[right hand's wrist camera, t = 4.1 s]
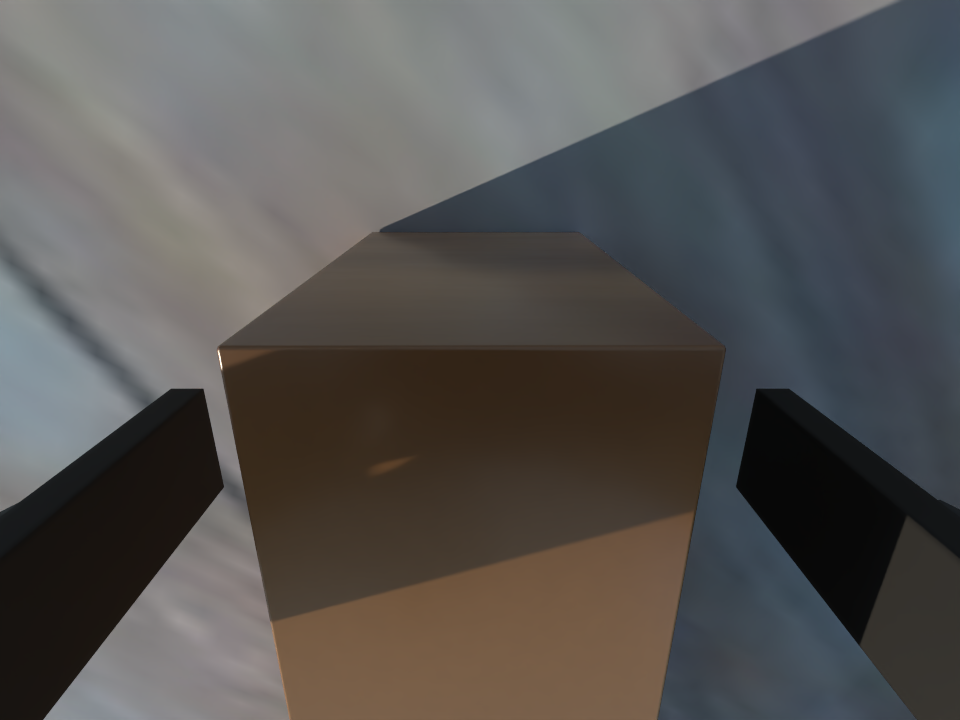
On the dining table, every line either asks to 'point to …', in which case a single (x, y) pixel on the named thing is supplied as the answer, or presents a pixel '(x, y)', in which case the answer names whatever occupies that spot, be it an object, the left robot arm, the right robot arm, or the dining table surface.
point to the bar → (472, 478)
